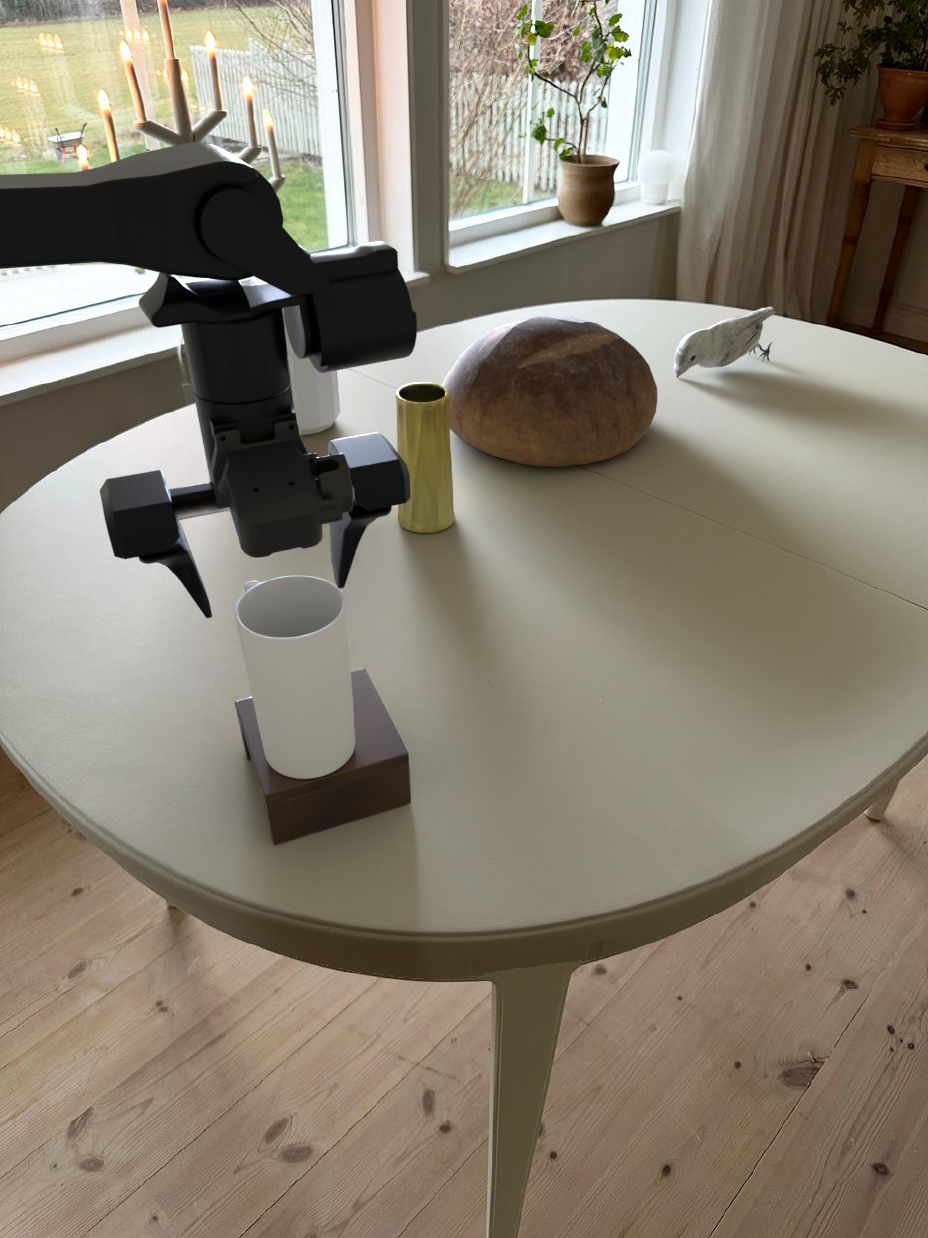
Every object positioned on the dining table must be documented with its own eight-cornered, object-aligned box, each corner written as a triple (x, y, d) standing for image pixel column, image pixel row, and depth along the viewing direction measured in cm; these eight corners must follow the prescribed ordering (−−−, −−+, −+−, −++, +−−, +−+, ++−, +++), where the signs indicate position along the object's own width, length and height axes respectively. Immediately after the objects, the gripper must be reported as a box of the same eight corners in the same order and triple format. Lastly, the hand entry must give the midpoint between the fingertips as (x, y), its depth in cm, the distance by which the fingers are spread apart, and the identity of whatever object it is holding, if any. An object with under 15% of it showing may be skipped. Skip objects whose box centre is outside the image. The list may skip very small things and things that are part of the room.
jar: (250, 418, 119) (229, 275, 108) (317, 400, 123) (303, 260, 113) (286, 445, 112) (267, 296, 102) (355, 424, 117) (344, 279, 106)
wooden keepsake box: (274, 845, 63) (264, 795, 60) (244, 749, 70) (234, 700, 67) (411, 803, 66) (409, 753, 63) (369, 715, 73) (365, 667, 70)
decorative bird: (662, 371, 131) (669, 319, 127) (749, 352, 137) (758, 301, 133) (687, 384, 127) (695, 331, 123) (775, 364, 134) (785, 312, 129)
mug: (378, 753, 63) (367, 611, 56) (292, 799, 60) (268, 654, 53) (303, 678, 69) (284, 542, 62) (222, 716, 66) (192, 577, 59)
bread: (399, 418, 118) (394, 316, 111) (554, 370, 131) (560, 276, 124) (531, 497, 102) (537, 383, 94) (694, 433, 115) (711, 329, 107)
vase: (418, 540, 95) (413, 410, 86) (386, 516, 99) (379, 389, 90) (466, 522, 98) (466, 394, 89) (433, 499, 102) (430, 375, 93)
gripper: (86, 472, 46) (151, 706, 55) (438, 412, 51) (442, 634, 61) (73, 389, 54) (131, 605, 63) (377, 345, 60) (389, 550, 69)
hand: (275, 599), depth 64 cm, fingers open, 9 cm apart
